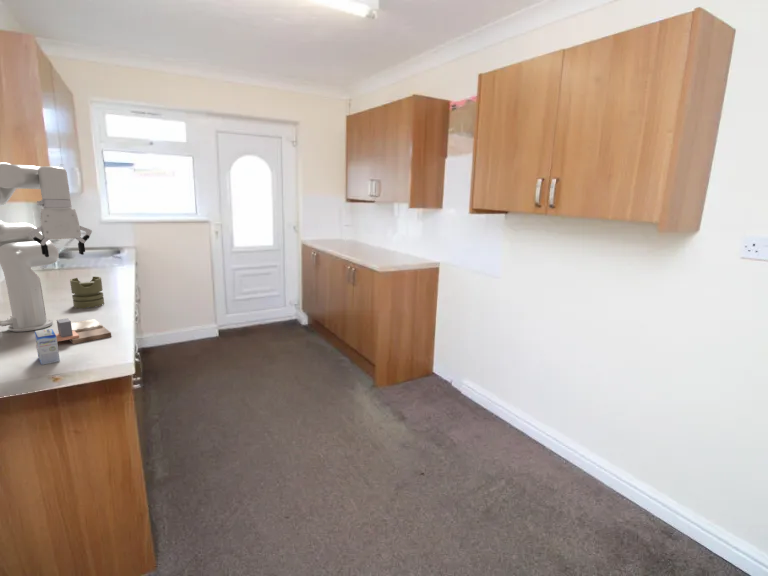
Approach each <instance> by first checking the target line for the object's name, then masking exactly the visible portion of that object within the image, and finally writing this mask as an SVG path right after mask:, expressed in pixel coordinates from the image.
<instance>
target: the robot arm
mask: <svg viewBox="0 0 768 576" xmlns="http://www.w3.org/2000/svg"><path fill="white" fill-rule="evenodd" d="M17 189H18V190H19V189H20V190H21V189H22V190H23V189H25V190H26V189H28V190H40V194H41V195H40V196H41V200H36V204H37V206H40V207H43V208H41V209H40V226H38V227H36V226H35V225H34V224H31V223H28V222H24V221H23V222H19V221H17V222H6V221H3V220H2V219H0V267H1V269H2V272H3V276H4V280H5V286H6V288H7V295H8V300H9V301H8V302H9V306H10V312H11V315H10V318H7V319H2V320H0V327H6V326H8V327H7V328H8V331H10V332H13V333H14V332H17V333H19V332H30V331H38V330H43V329H47V328H48V327H50V326H52V325H53V324H54V323H53V320H52V319H48V318H47V313H46V306H45V301H44V295H43V289H42V282H41V279H40V277H39V275H38V274H37V273H36V272H35V271H34V270H33V269H32V268H37V267H44V266H49V265H53V264H55V263H56V262H57V261H58V260H59V256H60V255H59V250H58V248H57V246H56V245H55V244H54V243H53V241H51V240H66V239H67V240H68V239H69V240H70V239H76V240H77V241H78V243H77V246H78V254H79V255H82V256H83V255H84V254H85V252H86V247H85V243H86V242H87V241H88V240H89V239H90V236H91V234H92V233H93V231H92V229H89V228H87V227H84V226H82V225H80V222H79V218H78V214H77V212H76V209H74V208H72V201H71V193H70V187H69V180H68V173H67V169H65V168H64V167H59V166H48V165H46V166H44V165H43V166H40V165H39V166H38V165H37V166H36V165H28V164H12V163H9V162H2V161H1V162H0V206H1V207H2V206H3V205H6V204H7V203H8V202H9V200H10V199H11V198H12V196H13V195H14V193H15V191H16V190H17ZM81 231H83V232H85V235H83V236H82V232H81Z"/></svg>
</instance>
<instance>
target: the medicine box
mask: <svg viewBox="0 0 768 576" xmlns="http://www.w3.org/2000/svg"><path fill="white" fill-rule="evenodd" d="M55 334H56V333H55V331H54V329H53V328H43V329H38V330H34V336H35V343H36V352H37V357H38V359H39V362H40V365H41V366H43V365H48V364H54V363H58V362H60V361H61V360H60V353H59V346H58V342H57V338H56V335H55Z"/></svg>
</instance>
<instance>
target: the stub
mask: <svg viewBox="0 0 768 576" xmlns="http://www.w3.org/2000/svg"><path fill="white" fill-rule="evenodd" d="M71 323H72V321H71V320H70V319H69V318H67V317H66V318H60V319H56V324H57V329H58V331H57V332H58V333H55V335H56V338H57V343H58V342H62V341H68V340H69V339H74V338H79V335H78V334H77V333H76V332H75V331H72V326H71ZM69 341H70V340H69Z"/></svg>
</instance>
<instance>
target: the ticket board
mask: <svg viewBox="0 0 768 576" xmlns="http://www.w3.org/2000/svg"><path fill="white" fill-rule="evenodd" d="M71 326H72V331H75V332H76V333H77V334H78V335H79V338H74V339H69V341H70V342H71V344H73V345H76V344H81V343H86V341H87V342H91V340H92V341H95V340H96V339H97V340H100V339H101V338H102V339H105V338H111V337H112V332H111V331H110V330H108V329H107V328H106V327H105V326H104V325H103V324H101V322H99V321H98V320H96V319H95V318H93V319H86V320H81V321H80V320H79V321H74V322H71Z"/></svg>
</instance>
